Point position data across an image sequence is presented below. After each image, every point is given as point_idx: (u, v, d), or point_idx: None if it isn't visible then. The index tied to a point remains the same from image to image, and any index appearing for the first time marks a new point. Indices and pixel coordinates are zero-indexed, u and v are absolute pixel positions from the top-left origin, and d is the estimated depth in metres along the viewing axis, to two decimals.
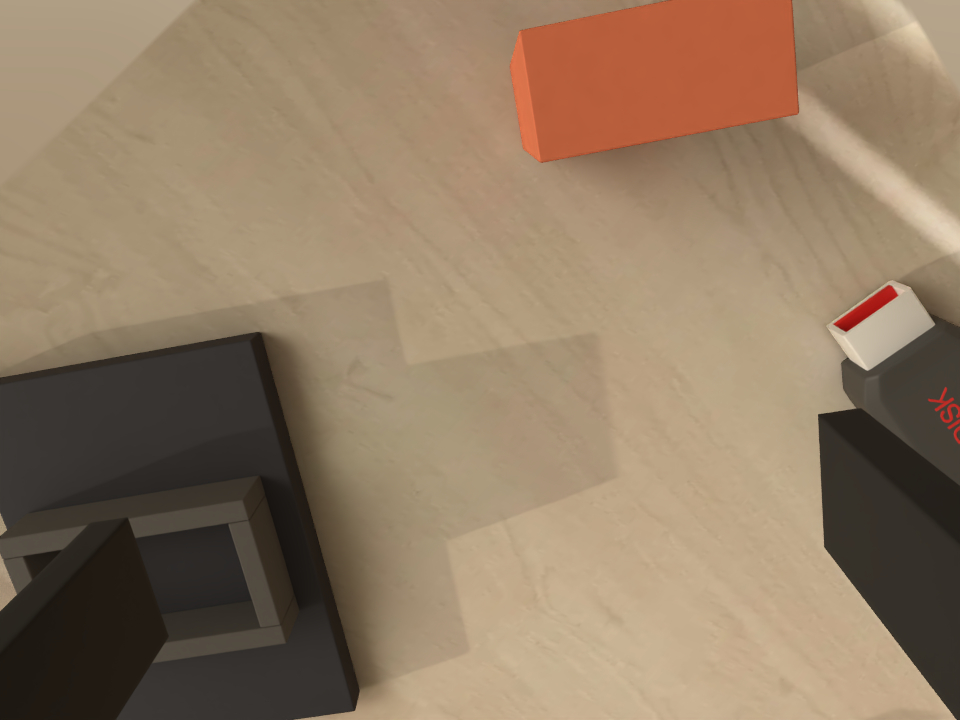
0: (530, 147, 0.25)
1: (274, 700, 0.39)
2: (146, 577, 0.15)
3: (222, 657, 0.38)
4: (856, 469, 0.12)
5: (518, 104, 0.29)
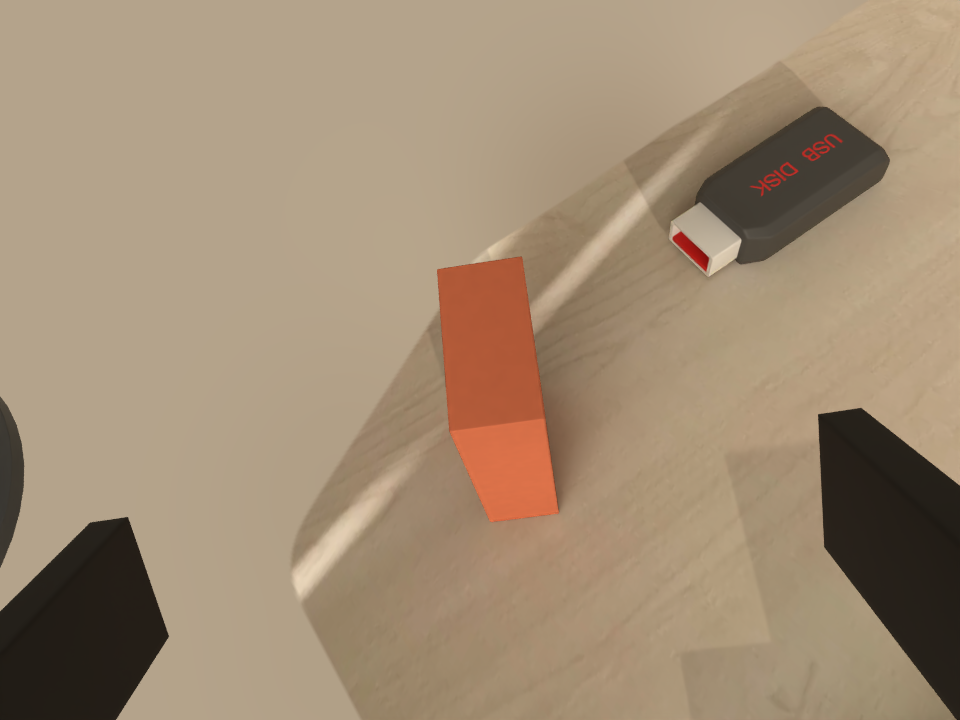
0: (543, 462, 0.31)
1: None
2: (146, 577, 0.15)
3: None
4: (856, 469, 0.12)
5: (518, 501, 0.35)
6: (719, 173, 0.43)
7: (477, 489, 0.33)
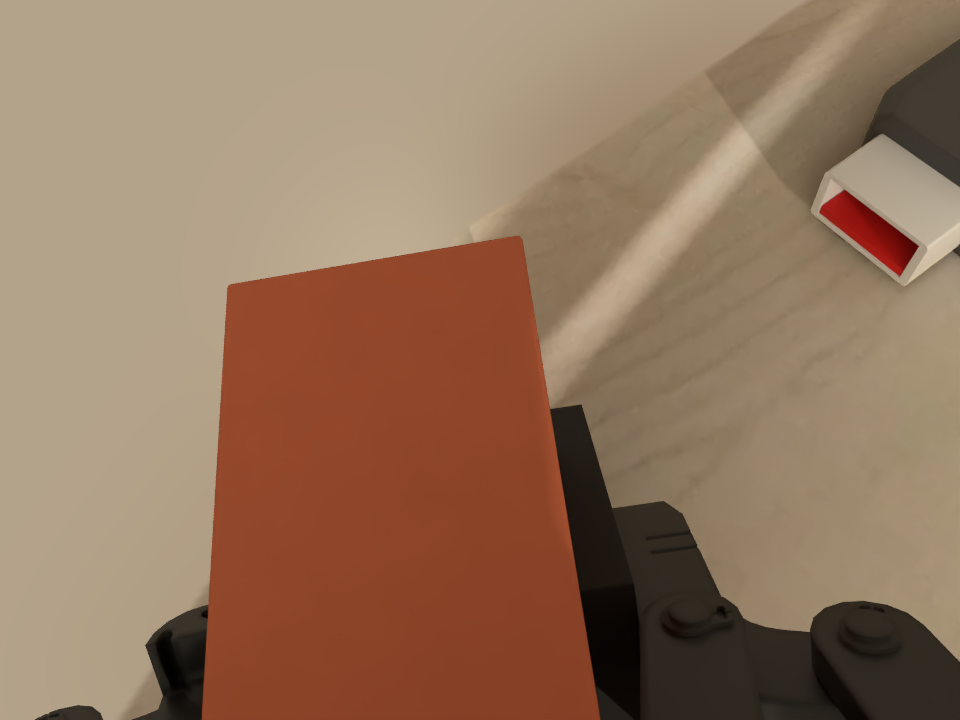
0: None
1: None
2: None
3: None
4: None
5: None
6: (917, 75, 0.21)
7: None
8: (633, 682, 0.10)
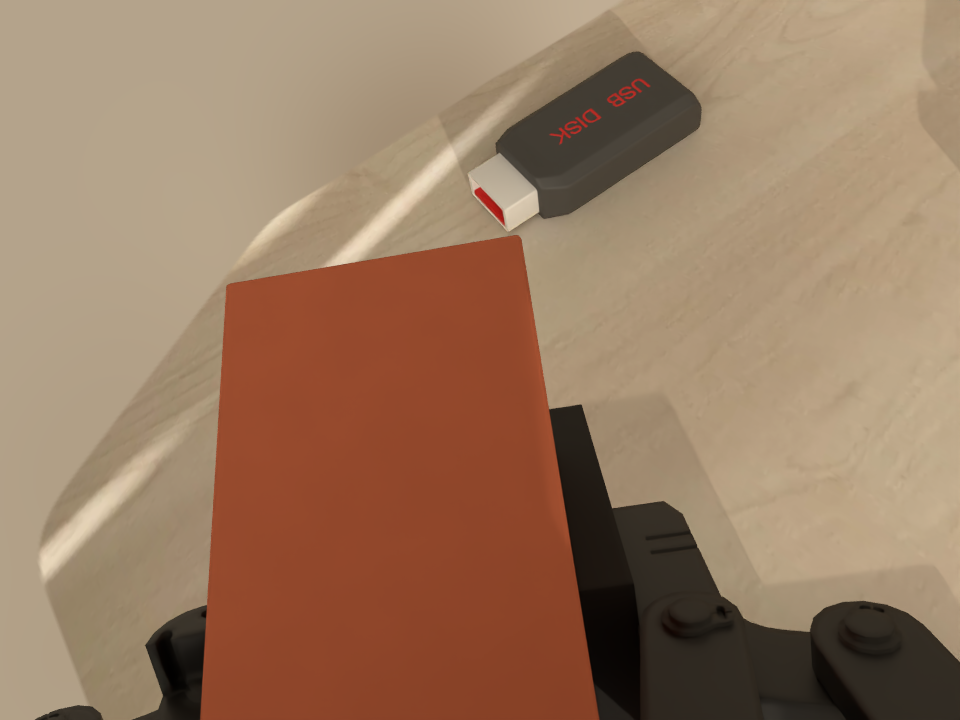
0: None
1: None
2: None
3: None
4: None
5: None
6: (521, 122, 0.40)
7: None
8: (633, 682, 0.10)
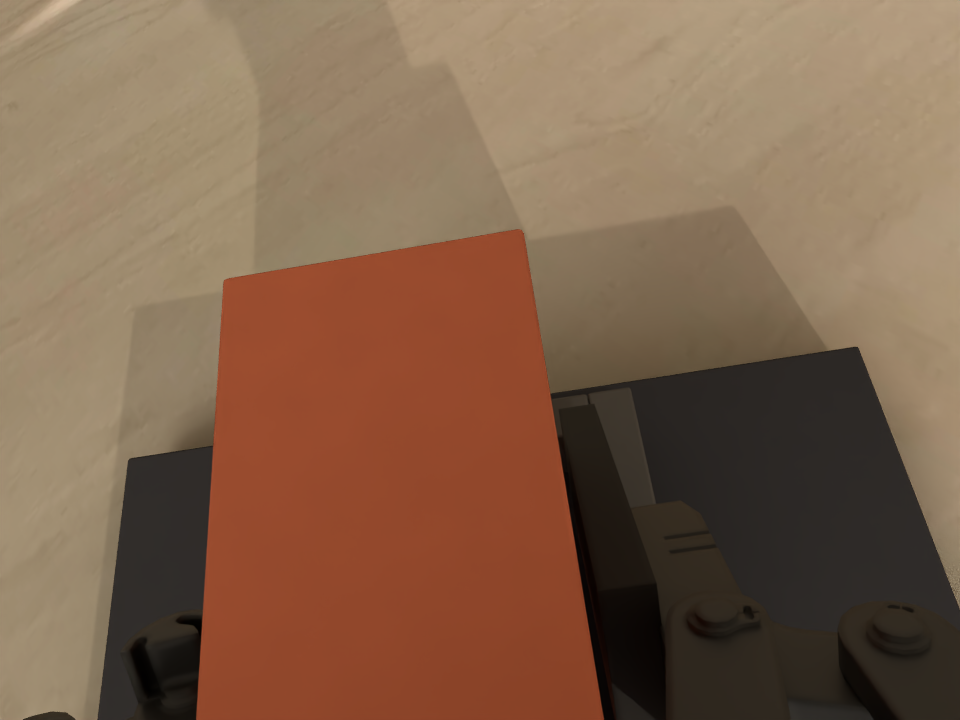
0: None
1: (856, 496, 0.18)
2: None
3: (751, 595, 0.18)
4: (567, 455, 0.15)
5: None
6: None
7: None
8: (655, 682, 0.10)
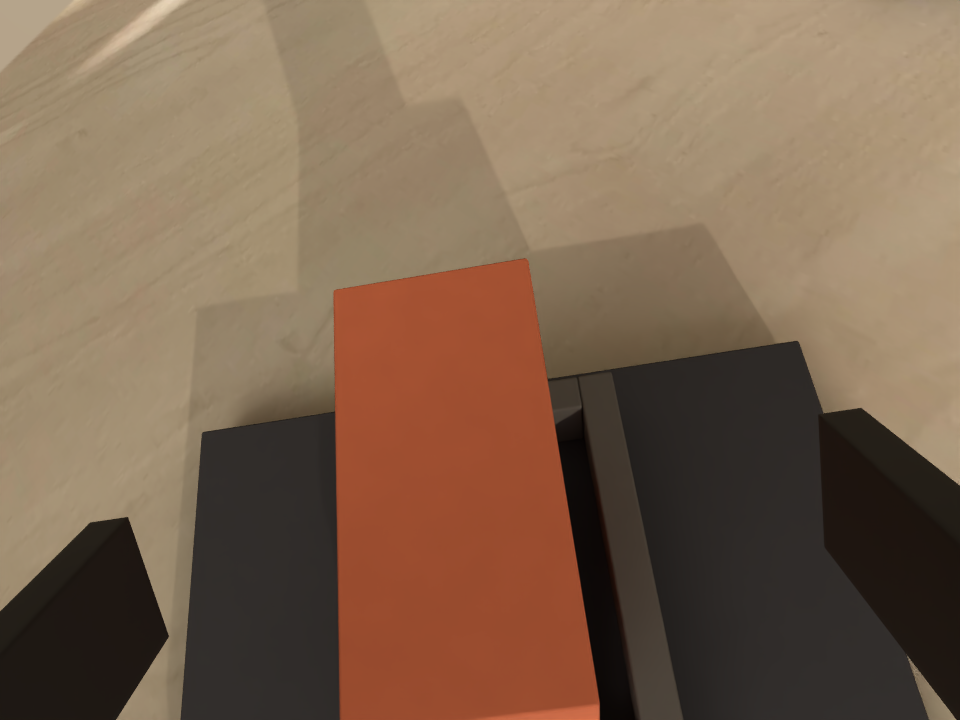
0: None
1: (792, 460, 0.23)
2: (145, 577, 0.15)
3: (706, 536, 0.22)
4: (856, 469, 0.12)
5: None
6: None
7: None
8: None
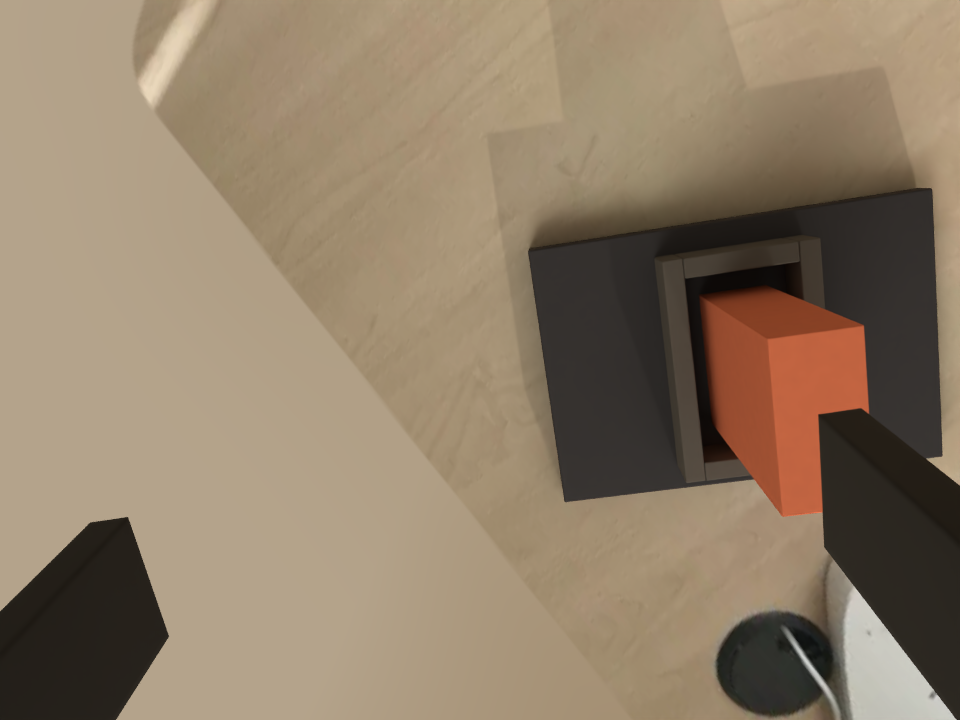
0: None
1: (908, 271, 0.39)
2: (145, 577, 0.15)
3: (848, 316, 0.39)
4: (856, 469, 0.12)
5: None
6: None
7: (739, 457, 0.36)
8: None
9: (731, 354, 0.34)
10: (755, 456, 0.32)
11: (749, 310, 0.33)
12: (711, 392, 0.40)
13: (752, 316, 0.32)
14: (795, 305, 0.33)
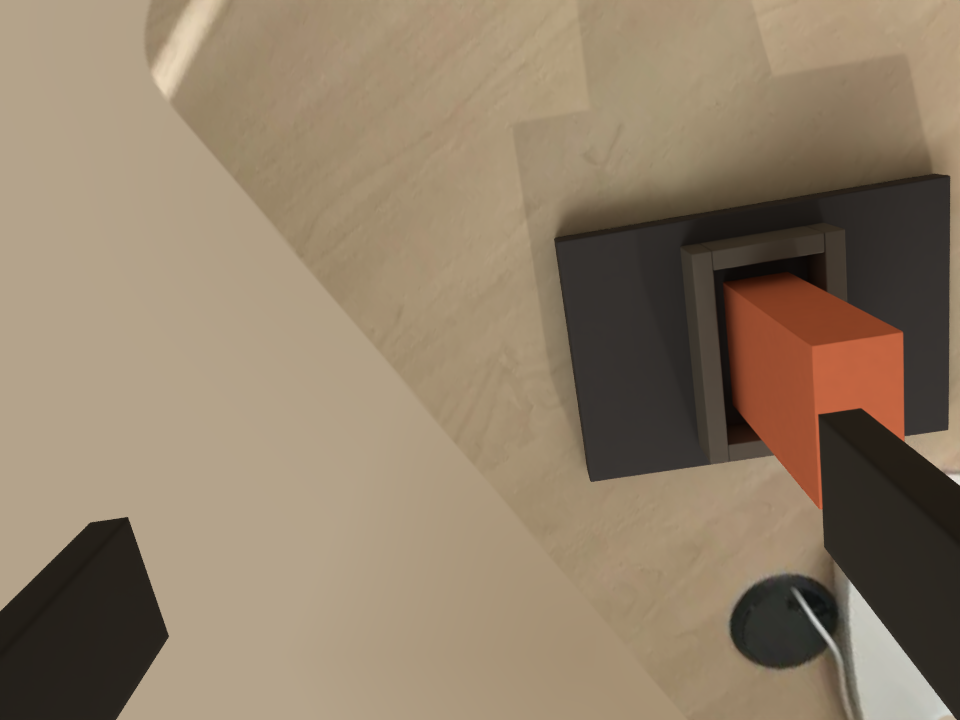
0: None
1: (923, 256, 0.40)
2: (146, 577, 0.15)
3: (865, 300, 0.41)
4: (855, 469, 0.12)
5: None
6: None
7: (765, 442, 0.37)
8: None
9: (763, 348, 0.35)
10: (788, 448, 0.34)
11: (781, 306, 0.34)
12: (733, 376, 0.41)
13: (787, 315, 0.33)
14: (826, 301, 0.34)
